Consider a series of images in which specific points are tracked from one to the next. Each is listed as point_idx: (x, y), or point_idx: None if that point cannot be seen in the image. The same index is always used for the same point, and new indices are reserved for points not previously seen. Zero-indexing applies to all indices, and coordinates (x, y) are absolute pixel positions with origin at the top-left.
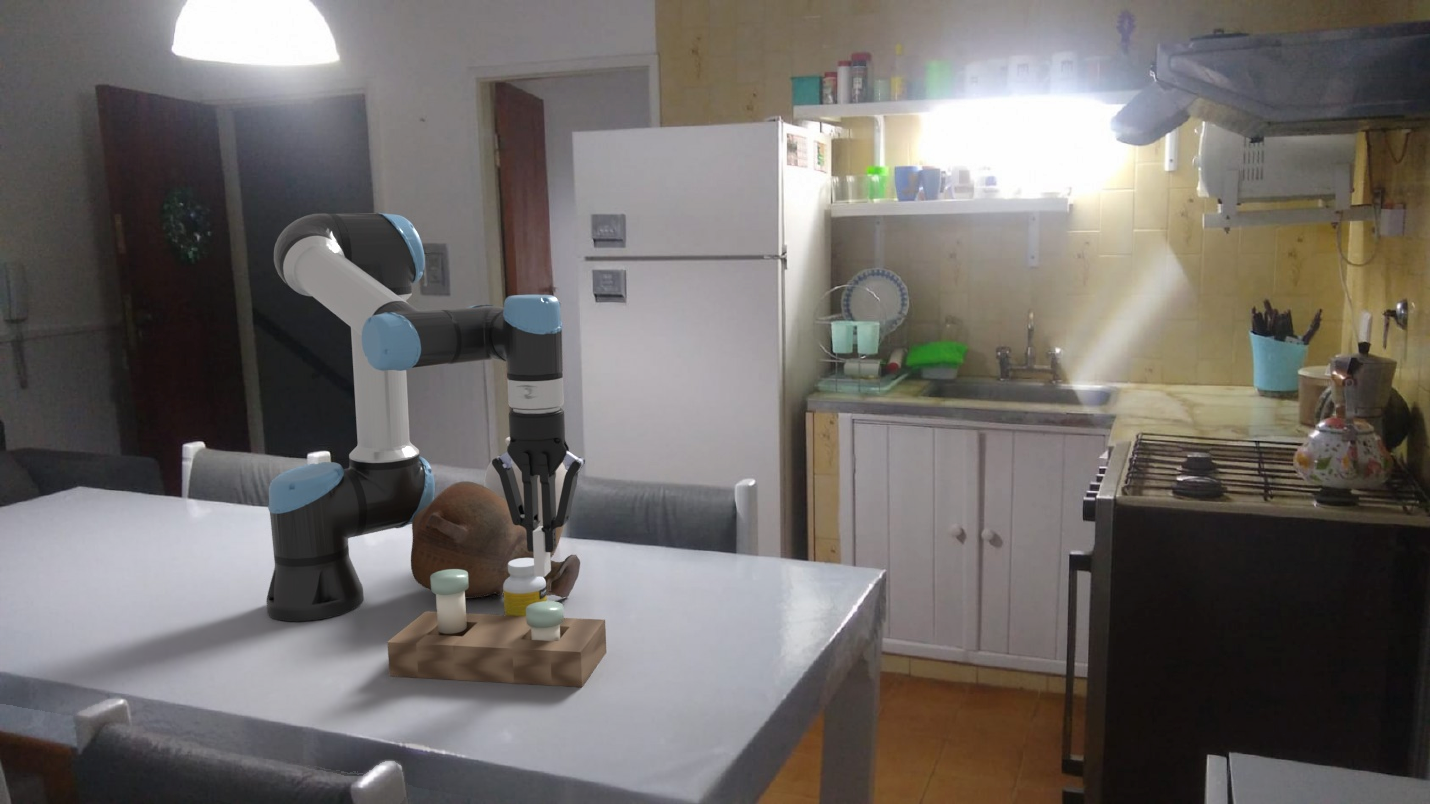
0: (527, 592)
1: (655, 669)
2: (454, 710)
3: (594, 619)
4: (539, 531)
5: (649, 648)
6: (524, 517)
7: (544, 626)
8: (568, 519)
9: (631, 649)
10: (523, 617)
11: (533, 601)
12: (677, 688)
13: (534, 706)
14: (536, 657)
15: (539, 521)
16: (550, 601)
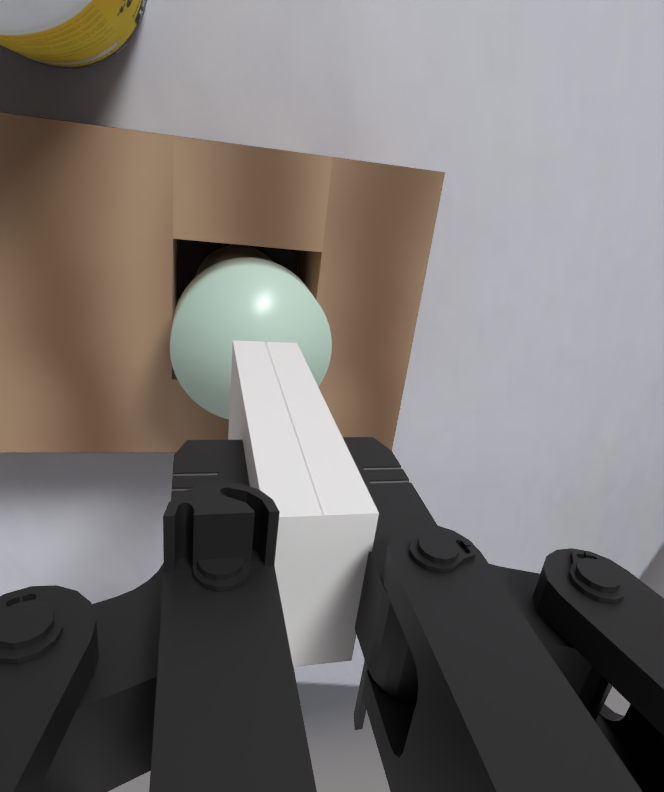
0: (53, 25)
1: (537, 288)
2: (83, 547)
3: (404, 169)
4: (316, 658)
5: (530, 129)
6: (125, 758)
7: None
8: (624, 577)
9: (476, 138)
10: (90, 145)
11: (92, 20)
12: (575, 389)
13: None
14: None
15: (273, 540)
16: (259, 273)
